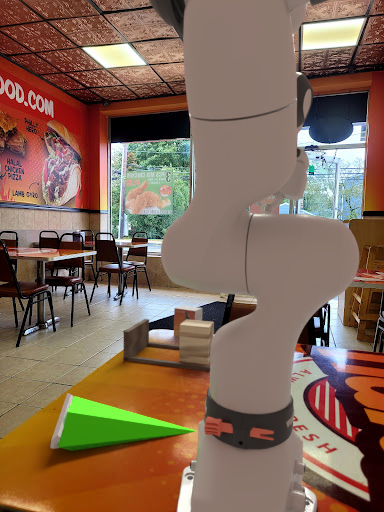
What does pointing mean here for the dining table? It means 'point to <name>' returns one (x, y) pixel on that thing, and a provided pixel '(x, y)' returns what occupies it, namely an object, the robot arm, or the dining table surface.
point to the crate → (195, 341)
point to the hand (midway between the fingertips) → (248, 207)
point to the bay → (139, 339)
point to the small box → (185, 316)
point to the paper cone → (105, 426)
